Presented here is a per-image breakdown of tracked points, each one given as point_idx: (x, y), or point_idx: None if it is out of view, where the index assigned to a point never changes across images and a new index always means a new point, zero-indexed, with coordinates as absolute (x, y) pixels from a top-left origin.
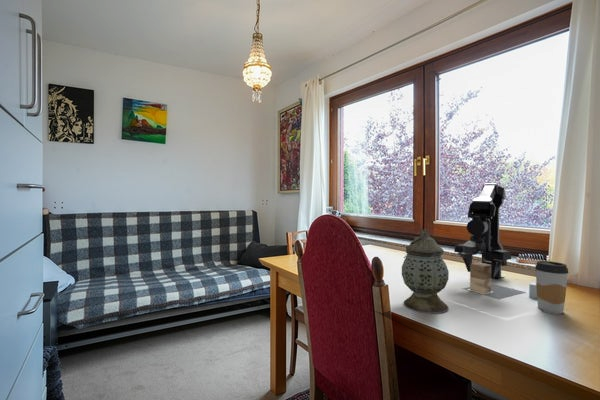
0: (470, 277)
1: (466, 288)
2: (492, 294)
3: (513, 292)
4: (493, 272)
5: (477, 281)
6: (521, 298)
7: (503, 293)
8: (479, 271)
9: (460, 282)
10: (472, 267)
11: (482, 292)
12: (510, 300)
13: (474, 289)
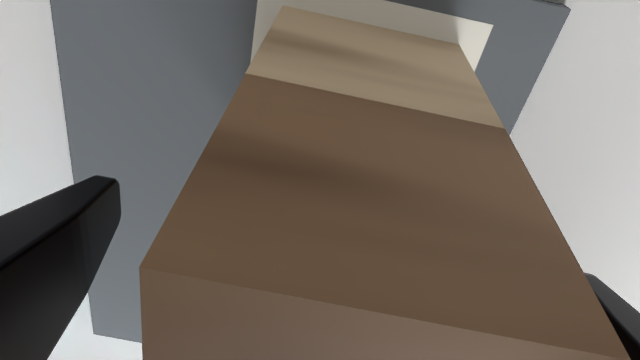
0: (496, 119)
1: (511, 72)
2: (196, 56)
3: (136, 271)
4: (6, 218)
5: (358, 73)
6: (19, 175)
7: (159, 183)
8: (308, 171)
9: (612, 286)
10: (517, 258)
11: (289, 11)
12: (5, 20)
13: (399, 36)
